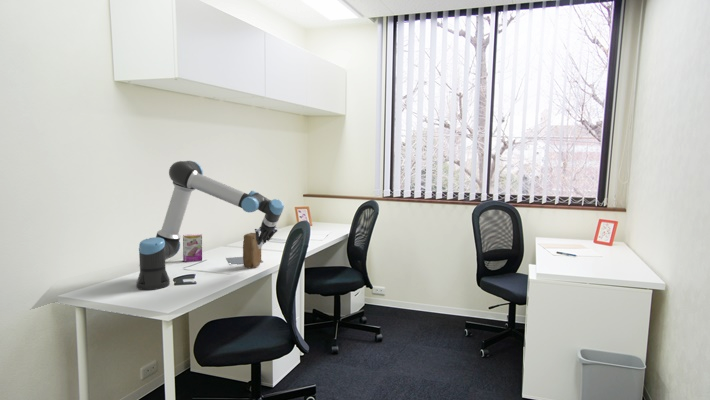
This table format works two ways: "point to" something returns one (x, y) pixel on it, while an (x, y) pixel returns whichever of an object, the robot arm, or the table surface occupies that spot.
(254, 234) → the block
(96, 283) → the table surface
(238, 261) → the mat
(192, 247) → the candy bar box
